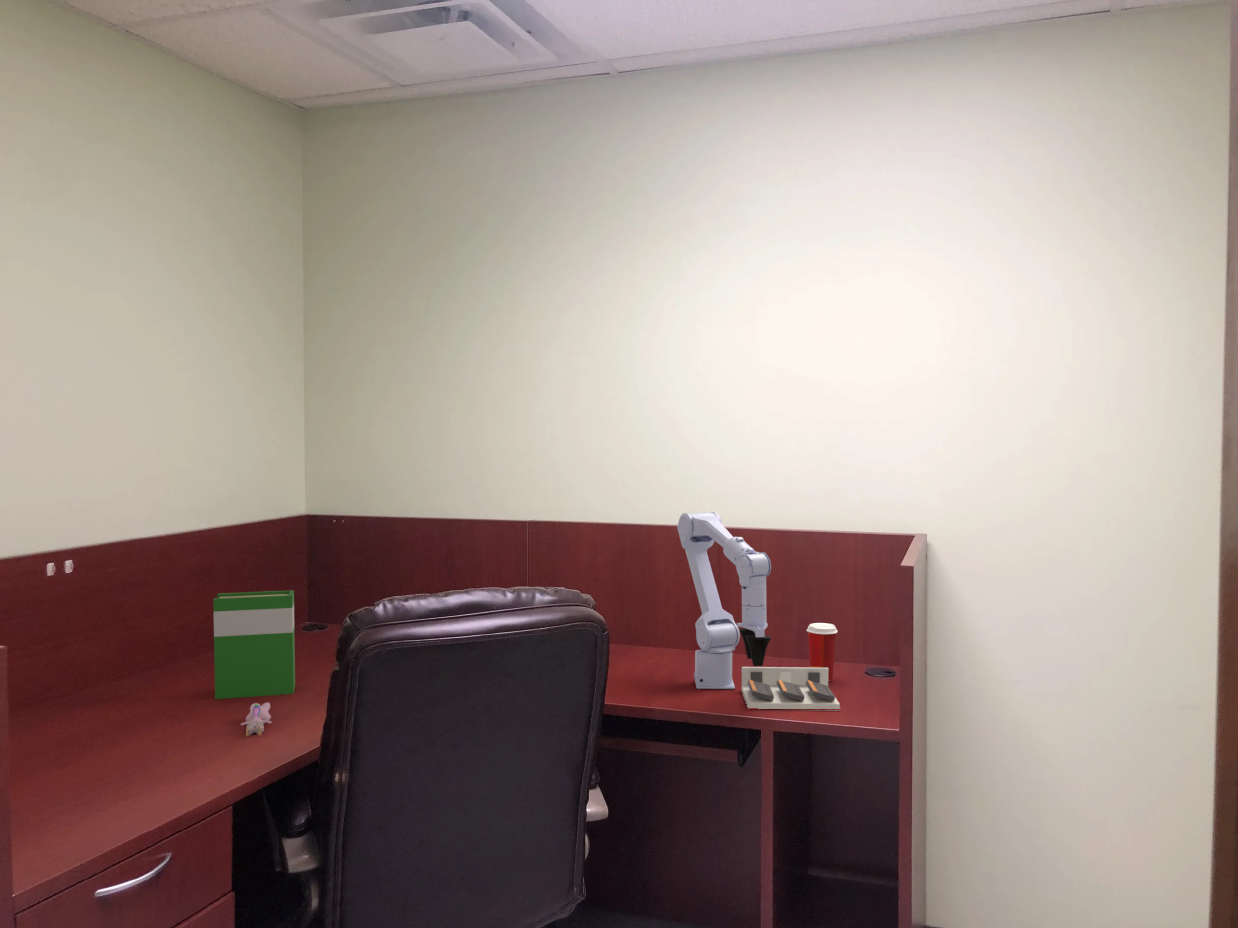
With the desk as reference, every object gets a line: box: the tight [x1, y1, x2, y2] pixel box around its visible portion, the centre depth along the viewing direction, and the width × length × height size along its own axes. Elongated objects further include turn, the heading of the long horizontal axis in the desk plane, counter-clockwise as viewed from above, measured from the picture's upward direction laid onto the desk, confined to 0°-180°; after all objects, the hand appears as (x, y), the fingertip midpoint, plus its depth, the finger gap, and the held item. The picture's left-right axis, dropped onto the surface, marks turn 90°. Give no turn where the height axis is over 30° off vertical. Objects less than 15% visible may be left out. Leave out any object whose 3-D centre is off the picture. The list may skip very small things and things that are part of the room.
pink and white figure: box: [240, 702, 272, 738], centre depth 210 cm, size 6×6×15 cm
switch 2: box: [776, 680, 804, 701], centre depth 228 cm, size 5×10×1 cm, turn 179°
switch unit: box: [741, 666, 841, 710], centre depth 229 cm, size 21×15×6 cm
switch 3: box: [806, 680, 836, 701], centre depth 228 cm, size 5×10×1 cm, turn 179°
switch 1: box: [747, 679, 774, 701], centre depth 228 cm, size 5×10×1 cm, turn 179°
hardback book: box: [212, 589, 296, 700], centre depth 235 cm, size 18×7×24 cm, turn 105°
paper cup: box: [806, 622, 838, 681], centre depth 247 cm, size 8×8×14 cm
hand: (754, 662), depth 228 cm, fingers open, 7 cm apart
